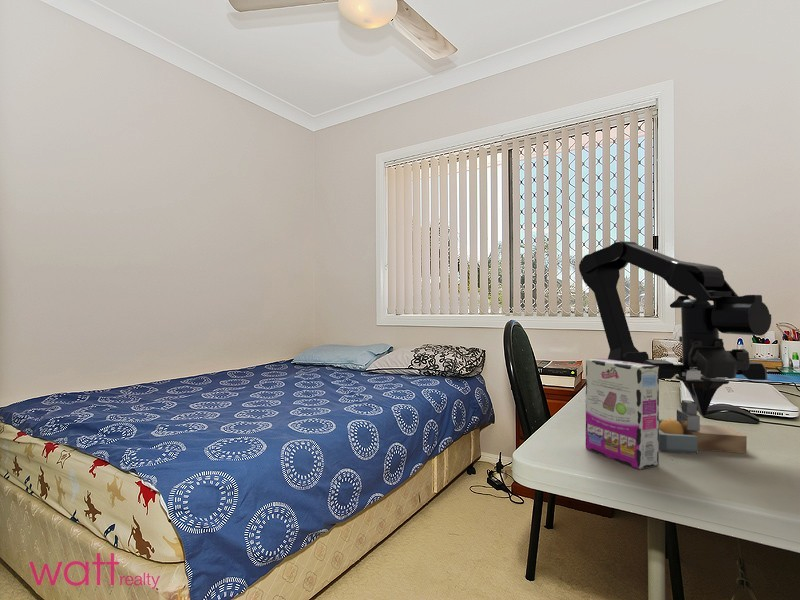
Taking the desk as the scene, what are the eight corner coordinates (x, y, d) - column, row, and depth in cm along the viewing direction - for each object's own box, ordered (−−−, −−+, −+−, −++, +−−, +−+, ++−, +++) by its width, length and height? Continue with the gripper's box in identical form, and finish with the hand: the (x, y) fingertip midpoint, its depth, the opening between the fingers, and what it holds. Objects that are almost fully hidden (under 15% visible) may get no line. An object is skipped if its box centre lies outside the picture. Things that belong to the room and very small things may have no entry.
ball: (688, 423, 79) (687, 444, 79) (678, 417, 83) (678, 438, 83) (663, 421, 80) (663, 442, 80) (656, 415, 84) (655, 436, 84)
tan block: (692, 449, 78) (692, 432, 78) (678, 439, 84) (679, 423, 84) (746, 453, 76) (746, 436, 76) (728, 442, 82) (728, 426, 82)
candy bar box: (660, 466, 70) (661, 365, 70) (639, 470, 68) (639, 367, 68) (603, 444, 81) (604, 357, 81) (583, 448, 79) (584, 358, 79)
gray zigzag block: (687, 429, 79) (687, 404, 79) (676, 422, 84) (676, 398, 84) (699, 430, 79) (699, 404, 79) (688, 423, 83) (688, 399, 83)
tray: (660, 451, 77) (660, 434, 77) (639, 432, 88) (639, 418, 88) (697, 454, 76) (697, 436, 76) (672, 435, 87) (672, 420, 87)
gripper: (661, 336, 75) (664, 426, 75) (786, 335, 71) (789, 430, 71) (639, 331, 86) (642, 410, 86) (747, 330, 82) (749, 412, 82)
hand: (702, 415), depth 81 cm, fingers closed
